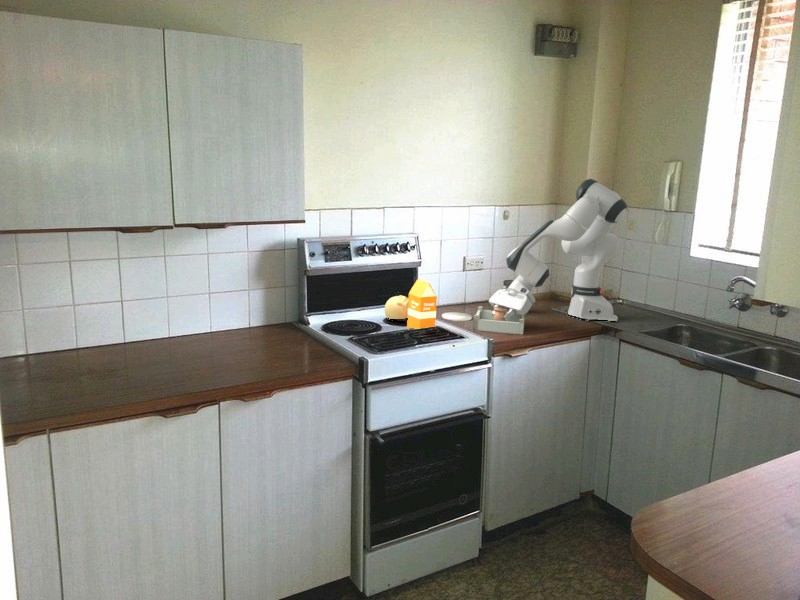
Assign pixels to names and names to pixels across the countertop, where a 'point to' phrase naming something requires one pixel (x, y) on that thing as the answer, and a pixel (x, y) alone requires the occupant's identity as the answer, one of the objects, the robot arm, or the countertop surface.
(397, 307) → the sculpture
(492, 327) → the green tray
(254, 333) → the countertop surface
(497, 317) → the terracotta pot
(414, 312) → the orange juice
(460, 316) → the saucer
